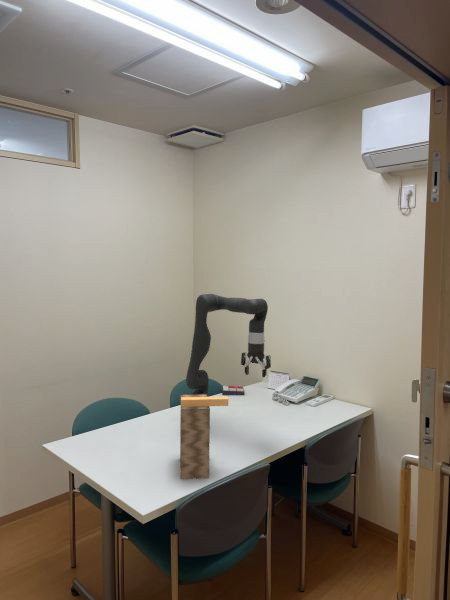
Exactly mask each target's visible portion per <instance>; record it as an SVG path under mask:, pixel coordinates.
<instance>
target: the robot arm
mask: <svg viewBox="0 0 450 600" xmlns="http://www.w3.org/2000/svg"><path fill="white" fill-rule="evenodd" d="M268 308H269V306H268V303H267V301H266V300H265V299H264V298H254V299H253V298H252V299H249V298H245V297H225V296H222V295H221V296H220V295H218V294H214V293H204V294H200V295H198V297H197V298H196V300H195V317H194V318H195V320H194V321H195V322H194V330H193V337H192V345H191V353H190V358H189V365H188V368H187V370H186V371H187V372H186V377H185V383H186V386H187V388H188V389H189V390H194V391H192V392H191V393H190V394H189V395H206V394H207V396H208V395H209V375H208V372H207V371H206V370H204V369H200V367H201V364H202V362H203V361H204V360H205V358H206V356H207V355H208V353H209V351H210V347H211V342H212V335H211V331H210V329H209V327H208V323H207V322H208V321H207V320H208V313H212V312H215V311H221V310H224V311H225V310H226V311H229V312H232V313H237V314H238V313H239V314H240V313H241V314H247V315H253V318H252V319H250V320H249V322H248V335H247V336H248V337H247V352H246V351H243V352H242V353H241V358H240V359H241V360H240V365H241V366H244V374H245V375H247V376H249V375H250V365H251V364H256V365H257V364H258V365H259V366H260V367H261V368H262V369H261V373H262V375H261V377H262V378H265V377H266V376H267V370H268V369H270V368H272V366H271V362H272V361H271V355H270V354H268V355H265V342H266V341H265V322H266V319H267V316H268V315H267V314H268V310H269V309H268ZM247 358H248V359H247Z"/></svg>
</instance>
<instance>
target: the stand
mask: <svg viewBox="0 0 450 600" xmlns="http://www.w3.org/2000/svg"><path fill="white" fill-rule="evenodd" d="M181 397H208V395H207V394H206V395H190V394H180V398H181ZM210 407H211V406H199V407H181V406H180V423H179V424H180V426H179V427H180V430H179V431H180V436H179V438H180V439H179V441H180V442H179V444H180V445H179V448H180V449H179V450H180V451H179V463H180V464H179V468H180V470H179V475H180V480H190V479H191V480H192V479H193V478H196V479H210V444H211V443H210V439H211V438H210V437H211V436H210V435H211V434H210V433H211V432H210V431H211V426H210V425H211V424H210V420H211V408H210Z"/></svg>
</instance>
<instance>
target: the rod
mask: <svg viewBox="0 0 450 600" xmlns="http://www.w3.org/2000/svg"><path fill="white" fill-rule="evenodd" d="M199 406H209V407H229V396H207V397H181V396H180V408H181V407H199Z"/></svg>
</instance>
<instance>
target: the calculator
mask: <svg viewBox="0 0 450 600" xmlns="http://www.w3.org/2000/svg"><path fill="white" fill-rule="evenodd" d="M221 394H222V396H245V389H244V387H243V386H236V385H234V386H233V385H223V386H222V387H221Z"/></svg>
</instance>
